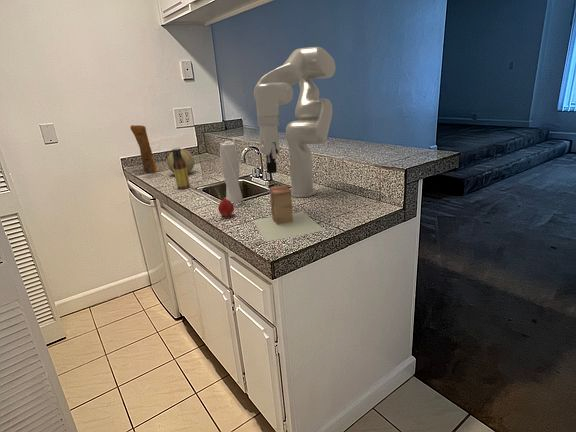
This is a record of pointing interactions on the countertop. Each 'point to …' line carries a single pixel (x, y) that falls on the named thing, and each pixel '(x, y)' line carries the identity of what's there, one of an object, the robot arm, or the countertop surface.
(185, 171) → the sauce bottle
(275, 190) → the copper block
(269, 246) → the countertop surface
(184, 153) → the cantaloupe
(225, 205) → the onion
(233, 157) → the skyscraper
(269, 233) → the mat
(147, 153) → the brown tall curved piece
